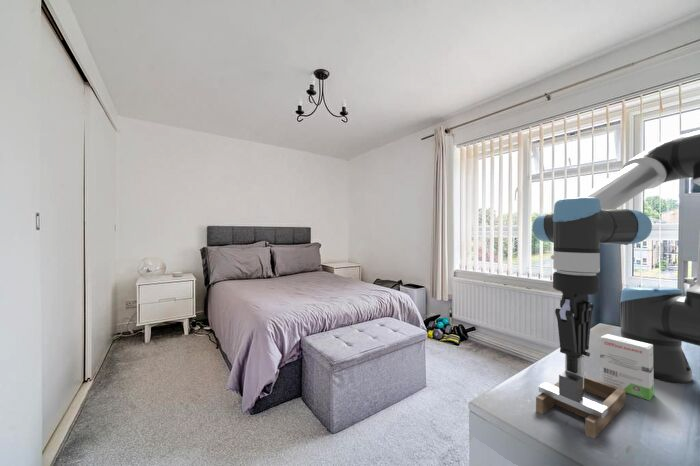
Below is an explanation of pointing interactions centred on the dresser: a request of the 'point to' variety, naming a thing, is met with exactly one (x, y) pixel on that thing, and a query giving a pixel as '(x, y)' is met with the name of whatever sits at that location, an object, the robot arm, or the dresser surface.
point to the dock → (592, 423)
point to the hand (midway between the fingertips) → (574, 385)
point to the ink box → (627, 365)
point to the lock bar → (573, 394)
